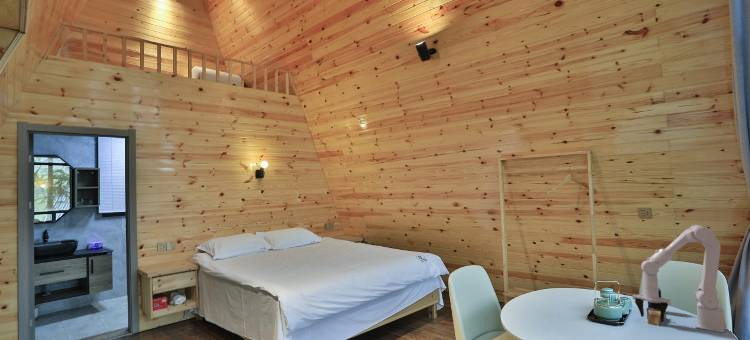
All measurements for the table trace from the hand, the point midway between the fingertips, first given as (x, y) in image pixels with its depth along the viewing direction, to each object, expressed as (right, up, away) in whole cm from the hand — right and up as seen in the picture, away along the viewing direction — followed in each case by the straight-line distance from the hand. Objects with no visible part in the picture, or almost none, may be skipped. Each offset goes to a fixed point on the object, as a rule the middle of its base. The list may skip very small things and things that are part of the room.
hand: (652, 317), depth 188 cm
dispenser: (+5, -2, +5) cm, 8 cm away
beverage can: (+12, -3, +16) cm, 20 cm away
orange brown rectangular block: (+3, -3, +2) cm, 4 cm away
